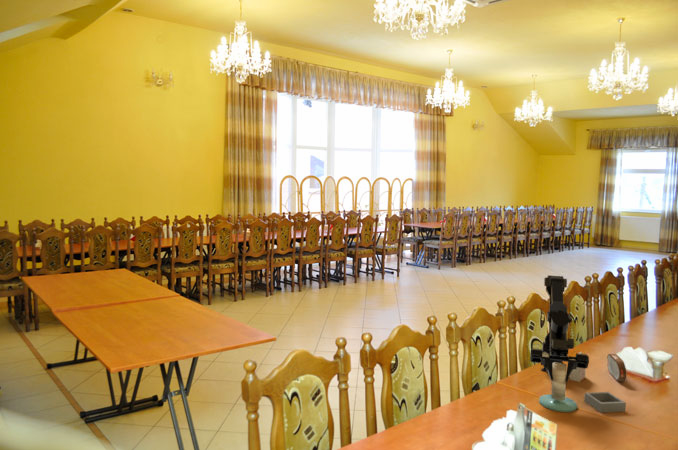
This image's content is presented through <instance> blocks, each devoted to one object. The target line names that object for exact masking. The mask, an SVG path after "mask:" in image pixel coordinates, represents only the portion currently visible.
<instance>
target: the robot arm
mask: <svg viewBox="0 0 678 450" xmlns="http://www.w3.org/2000/svg"><path fill="white" fill-rule="evenodd" d="M543 282H544V283H543V285H544V287H545V292H546V293H547V295H548V296H549V307H548V311H547V312H546V321H547V322H548V333H546V336H545V337H544V341H543V342H542V346H541V347H542V348H531V350H530V356H529V361H530V362H531V363H535V364H536V363H537V364H540V365H541V366H543V367H542V368H541V369H540V370H541V371H543V372H546V373H547V375H548V376H549V380H550V381H551V382H552V366H553V363H554V362H561V363H565V362H566V363H567V366H566V383H568V381H569V380H570V374H571V372H572V370H573V369H576V368H585V370H586V369H588V367H589V363H590V357H589V355H588V354H587V353H582V354H578V353H579V352H578V353H575V356H576V357H575V356H570V355H569V350H571V349H574V345H575V343H574V339H573V338H568V331H569V327H570V324H571V323H572V322H573V318H572V316H571V315H570V313H568V307H567V306H566V305H565V304H564V292H565V288H568V285H567V284H568V278H564V276H563V275H561V276H560V275H547V277H544V281H543Z"/></svg>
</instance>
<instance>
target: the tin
mask: <svg viewBox="0 0 678 450" xmlns="http://www.w3.org/2000/svg"><path fill="white" fill-rule="evenodd" d="M606 357H607V370H608V372H609V374H610V375H611V377H612V378H614V379H615V380H616V381H617V382H626V380H627V367H626V364H625V362H624V360H623V359H622V358H621V357H620V356H619V355H618V354H617V353H608V355H607V356H606Z"/></svg>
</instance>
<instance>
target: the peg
mask: <svg viewBox="0 0 678 450" xmlns="http://www.w3.org/2000/svg"><path fill="white" fill-rule="evenodd" d="M567 366H568V364H566V363H565V362H563V363H561V362H554V363H553V366H552V381H551V389H550V390H551V398H552V399H554V400H558V401H564V400H565V397H566V384H567V382H566V373H567Z"/></svg>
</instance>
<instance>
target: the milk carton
mask: <svg viewBox="0 0 678 450" xmlns="http://www.w3.org/2000/svg"><path fill="white" fill-rule="evenodd" d="M578 354H583V352H582V351H580V352H578ZM574 357H576V355H575V356H574ZM585 378H586V369H585V368H576V369H573V370H572V372H571V374H570V376H569V380H570V381H574V382H577V383H581V382H582V381H583V380H584V379H585Z"/></svg>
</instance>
